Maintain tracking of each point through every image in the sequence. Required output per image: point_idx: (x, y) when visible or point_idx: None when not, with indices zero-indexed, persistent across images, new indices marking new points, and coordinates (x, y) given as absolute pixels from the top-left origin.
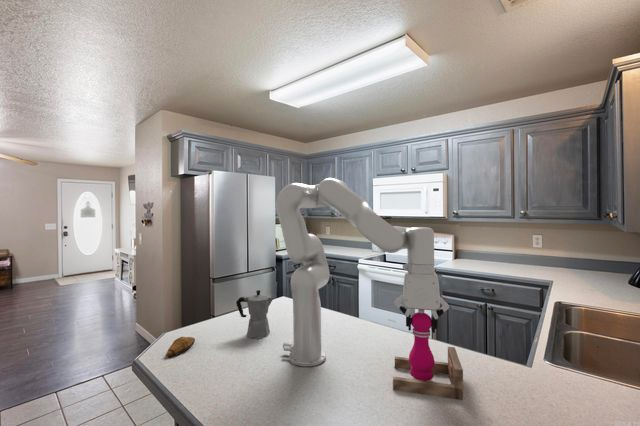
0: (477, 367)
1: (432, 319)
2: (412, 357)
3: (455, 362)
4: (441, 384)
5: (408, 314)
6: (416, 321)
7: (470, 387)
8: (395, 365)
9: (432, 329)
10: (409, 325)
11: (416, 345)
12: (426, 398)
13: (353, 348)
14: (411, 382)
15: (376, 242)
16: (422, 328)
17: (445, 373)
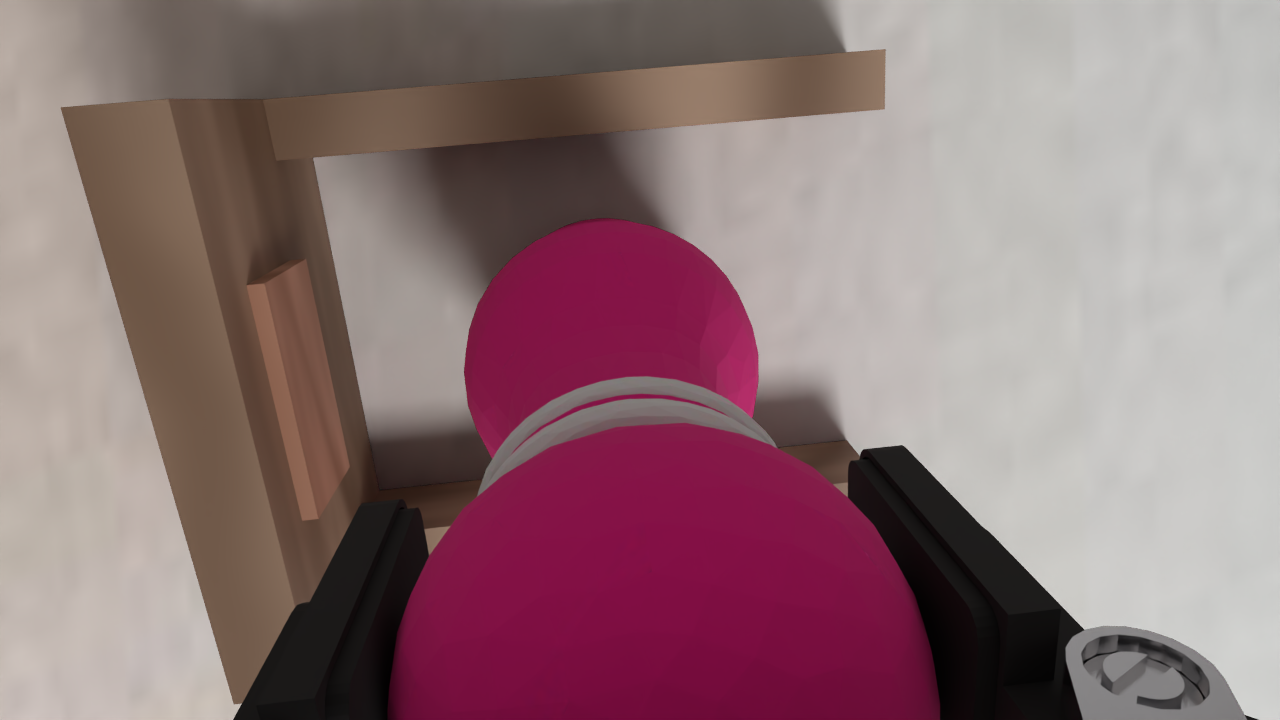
0: (148, 701)
1: (335, 709)
2: (722, 289)
3: (178, 294)
4: (397, 117)
5: (1099, 699)
6: (800, 509)
7: None
8: (846, 451)
9: (400, 536)
10: (922, 491)
11: (695, 364)
12: (546, 20)
13: (1216, 641)
14: (695, 66)
15: None
16: (618, 429)
17: (403, 492)
